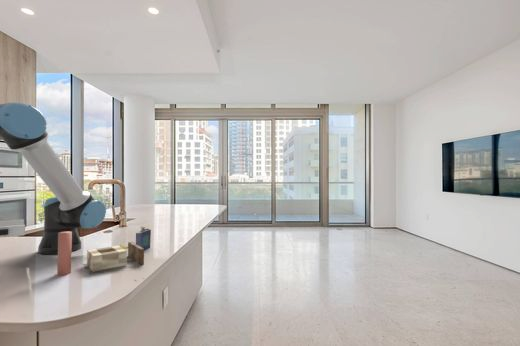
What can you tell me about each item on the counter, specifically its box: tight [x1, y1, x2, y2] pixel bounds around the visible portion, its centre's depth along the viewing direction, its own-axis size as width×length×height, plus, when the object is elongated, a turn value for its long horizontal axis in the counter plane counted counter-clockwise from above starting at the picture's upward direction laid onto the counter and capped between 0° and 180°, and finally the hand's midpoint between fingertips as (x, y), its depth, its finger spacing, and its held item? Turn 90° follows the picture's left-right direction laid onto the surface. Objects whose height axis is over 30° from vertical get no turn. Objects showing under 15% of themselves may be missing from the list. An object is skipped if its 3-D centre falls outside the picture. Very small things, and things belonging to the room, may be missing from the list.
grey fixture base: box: [82, 241, 145, 276], centre depth 95 cm, size 14×16×6 cm
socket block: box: [86, 245, 128, 272], centre depth 93 cm, size 10×10×5 cm
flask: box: [135, 226, 152, 251], centre depth 115 cm, size 9×3×11 cm, turn 172°
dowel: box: [56, 231, 72, 276], centre depth 85 cm, size 4×4×14 cm
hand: (24, 226), depth 79 cm, fingers open, 13 cm apart
